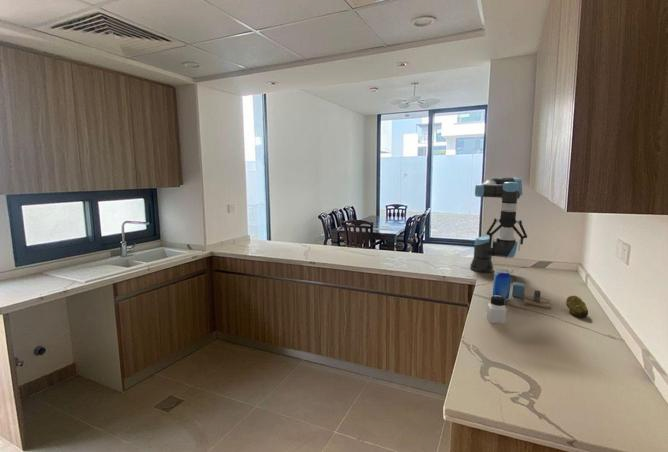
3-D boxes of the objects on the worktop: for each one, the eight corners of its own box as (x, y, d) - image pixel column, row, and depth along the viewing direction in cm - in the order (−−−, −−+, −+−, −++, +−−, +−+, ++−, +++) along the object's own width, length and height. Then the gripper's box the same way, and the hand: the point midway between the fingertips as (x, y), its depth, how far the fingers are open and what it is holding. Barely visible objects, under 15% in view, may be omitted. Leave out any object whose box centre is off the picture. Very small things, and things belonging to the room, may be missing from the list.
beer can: (505, 295, 203) (508, 268, 200) (511, 301, 195) (513, 273, 192) (490, 295, 204) (492, 268, 201) (495, 301, 196) (497, 273, 193)
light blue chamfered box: (512, 292, 208) (513, 281, 207) (522, 294, 206) (524, 283, 205) (512, 295, 203) (513, 284, 202) (523, 297, 201) (524, 286, 200)
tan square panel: (523, 297, 201) (524, 286, 200) (548, 300, 196) (549, 289, 195) (524, 304, 191) (525, 293, 190) (550, 308, 186) (551, 296, 185)
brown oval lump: (568, 317, 176) (570, 301, 175) (563, 307, 188) (565, 292, 186) (588, 320, 173) (590, 304, 171) (582, 310, 184) (584, 295, 183)
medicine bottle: (505, 324, 168) (508, 300, 166) (489, 322, 170) (491, 299, 168) (502, 317, 175) (504, 294, 173) (486, 316, 177) (488, 293, 175)
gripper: (483, 210, 196) (480, 247, 200) (535, 213, 185) (531, 252, 189) (484, 208, 202) (481, 244, 206) (534, 211, 192) (530, 249, 196)
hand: (505, 248), depth 198 cm, fingers open, 13 cm apart
